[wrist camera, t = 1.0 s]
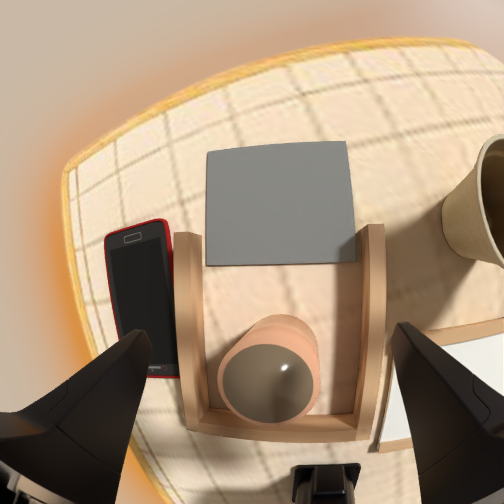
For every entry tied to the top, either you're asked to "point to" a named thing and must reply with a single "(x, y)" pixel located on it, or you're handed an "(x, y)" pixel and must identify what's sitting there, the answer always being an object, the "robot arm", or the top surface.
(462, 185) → the flower pot
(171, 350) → the cell phone
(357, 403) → the wooden u-shaped frame
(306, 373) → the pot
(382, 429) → the wood framed whiteboard
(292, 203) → the mat
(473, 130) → the top surface
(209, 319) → the top surface
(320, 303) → the top surface
